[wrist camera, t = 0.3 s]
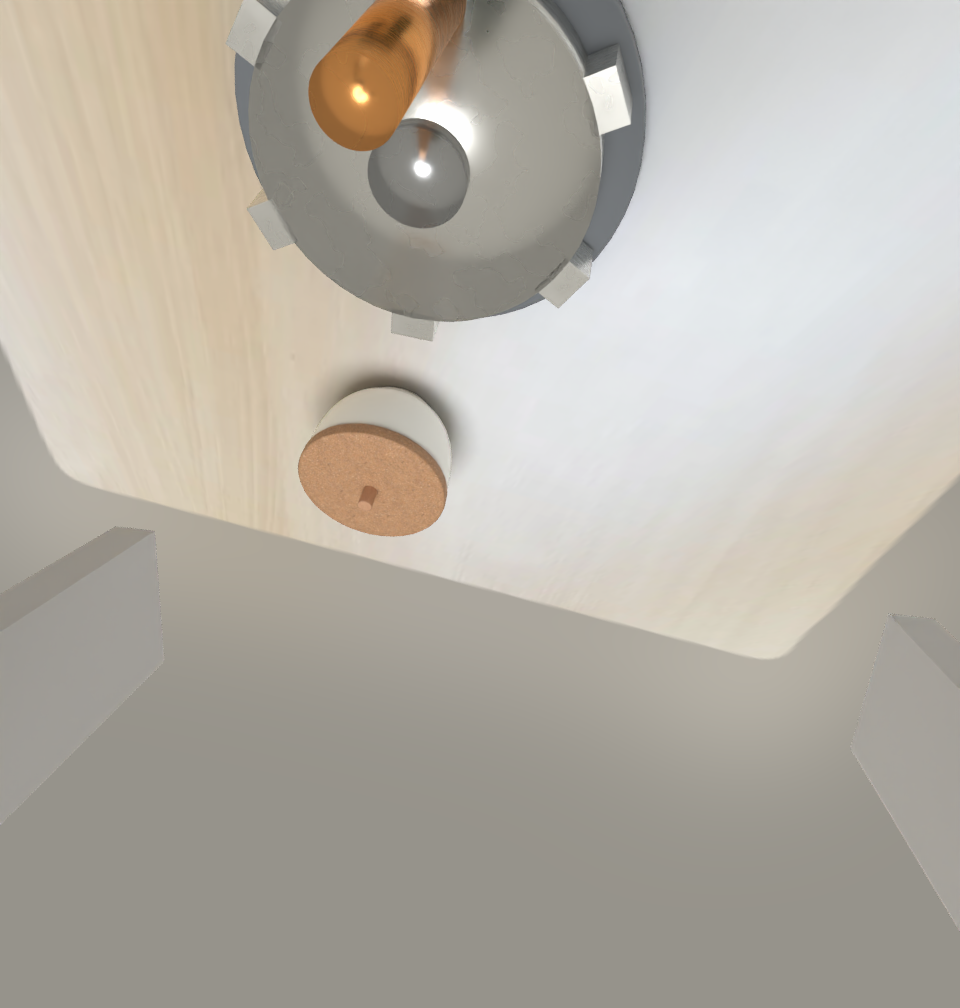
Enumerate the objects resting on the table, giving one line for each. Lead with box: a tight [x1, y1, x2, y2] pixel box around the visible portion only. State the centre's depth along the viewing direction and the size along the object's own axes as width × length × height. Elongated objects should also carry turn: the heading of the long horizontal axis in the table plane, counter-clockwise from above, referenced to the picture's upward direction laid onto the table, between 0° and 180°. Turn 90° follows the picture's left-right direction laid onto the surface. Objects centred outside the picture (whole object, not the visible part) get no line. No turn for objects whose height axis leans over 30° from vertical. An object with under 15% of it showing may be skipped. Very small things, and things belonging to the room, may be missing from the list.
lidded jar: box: [298, 387, 452, 536], centre depth 54 cm, size 11×11×9 cm
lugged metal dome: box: [226, 0, 633, 341], centre depth 34 cm, size 21×19×15 cm
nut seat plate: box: [235, 0, 645, 317], centre depth 40 cm, size 22×22×2 cm
